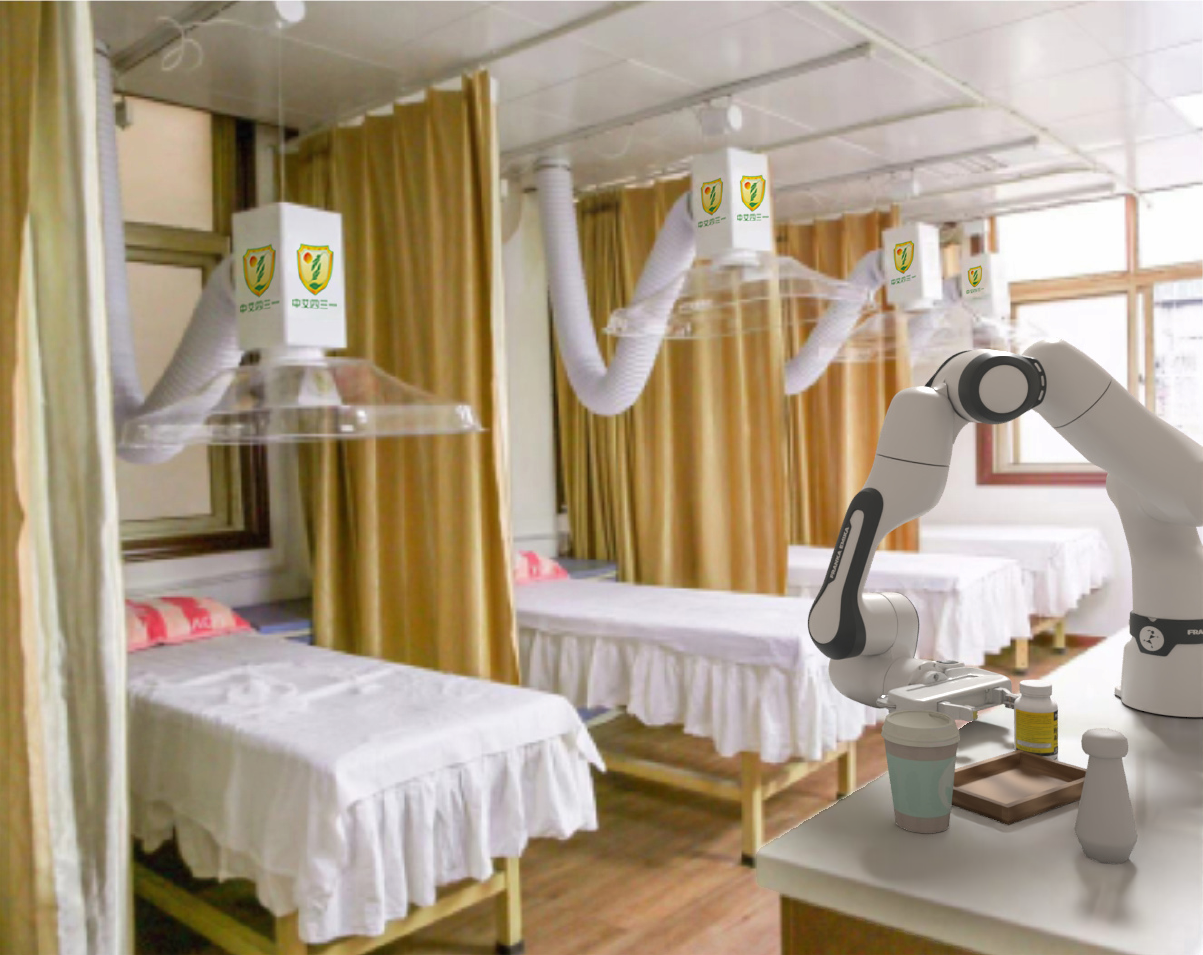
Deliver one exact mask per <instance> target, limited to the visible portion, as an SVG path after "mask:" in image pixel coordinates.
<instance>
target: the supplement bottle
mask: <svg viewBox="0 0 1203 955" xmlns="http://www.w3.org/2000/svg"><path fill="white" fill-rule="evenodd" d="M1019 694H1021V695H1020V697H1018V698H1017V699H1016V700H1015V702H1014V709H1013V719H1014V720H1013V726H1014V728H1013V729H1014V732H1013V734H1014V735H1013V736H1014V738H1013V741H1014V751H1016V750H1021V751H1025V752H1028V753H1032V754H1035V755H1039V756H1042V757H1046V758H1050V759H1053V760H1056V759H1057V758H1058V757H1059V756H1058V755H1059V721H1058V720H1059V717H1058V716H1059V715H1058V714H1059V709H1058V707H1059V706H1058V704H1057V702H1056V700H1054V699H1053V698H1051V696H1052V695H1053V684H1052V683H1051V682H1049V681H1047V680H1041V679H1023V680H1021V681H1019Z"/></svg>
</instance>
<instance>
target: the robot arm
mask: <svg viewBox="0 0 1203 955" xmlns="http://www.w3.org/2000/svg"><path fill="white" fill-rule="evenodd" d="M1030 410H1032V411H1034V412H1035V413H1038V414H1039V416H1041V417H1042V419H1043V420H1044V421H1045V422H1046V423H1047V424H1049V426H1050V427H1051V428H1052V429H1053V430H1055V431H1056V432H1057V433H1058V434H1059V435H1060V436H1061V437H1062V438H1064V440H1065V441H1067V443H1068V444H1070V445H1071V446H1072V447H1073V448H1074V449H1075V450H1076V451H1077V452H1078V453H1079V454H1080V455H1081V456H1083V458H1085V459H1086V460H1087V461H1088V462H1089V463H1091V464H1093V465H1095V466H1097V467H1099V469H1102V470H1104V471H1105V472H1107V475H1106V478H1105V489H1106V493H1107V495H1108V497H1109V500H1110V501H1111V502H1112V504H1113V506H1115V508H1116V509H1117V512H1118V514H1119V517H1120V521H1121V525H1122V529H1123V532H1124V536H1125V539H1126V544H1127V547H1128V548H1127V549H1128V552H1129V557H1130V564H1131V580H1132V581H1131V584H1132V585H1131V587H1132V588H1131V591H1132V610H1131V611H1130V612H1129V619H1128V625H1129V634H1130V636H1131V638H1130V639H1129V641H1127V642H1126V643H1125V644H1124V646H1123V653H1122V666H1121V677H1120V678H1121V680H1120V685H1117V686H1115V687H1114V692H1113V693H1114V695H1116V696H1117V697H1119V698H1121V702H1122V703H1123V704H1124V705H1125V706H1128V707H1130V708H1133V709H1135V710H1138V711H1141V712H1142V711H1144V712H1147V713H1152V714H1156V715H1163V716H1171V717H1172V716H1173V717H1180V718H1181V717H1182V718H1186V717H1187V718H1203V543H1202V540H1201V538H1200V535H1199V532H1198V529H1197V528H1200V527H1201V528H1202V527H1203V446H1202V445H1201V444H1200V443H1198V442H1196V441H1195V440H1194V439H1192V438H1191V437H1189V436H1188V435H1187V434H1185V433H1184V432H1182V431H1181V430H1179V429H1178V428H1176V427H1175V426H1173V425H1172V424H1170V423H1168V422H1167V421H1165V420H1164V419H1162V418H1160V417H1159V416H1158V415H1157V414H1155V413H1153V411H1151V410H1150V409H1149V408H1147V407H1146V406H1145V405H1144V404H1143V403H1142V402H1140V401H1139V399H1137V398H1136V397H1135V396H1134V395H1133V394H1132V393H1130V392H1129V390H1127V388H1125V387H1124V386H1123V385H1122V384H1121V383H1120V382H1119V381H1117V379H1116V378H1114V376H1112V375H1111V374H1110V373H1109V372H1108V371H1107V370H1106V369H1105V368H1104V367H1103V366H1102V365H1100V364H1099V363H1098V362H1096V361H1095V360H1094V359H1093V358H1091V357H1090V356H1088V355H1087V354H1086V353H1084V352H1083V351H1081V350H1080V349H1079V348H1077V347H1076V346H1074V345H1072V343H1071V344H1070V343H1069V342H1068V341H1066V340H1064V339H1061V338H1058V337H1048V338H1044V339H1041V340H1038V341H1037V342H1035V343H1033V344H1031V345H1030V346H1028V348H1026V349H1025V350H1024V351H1023V352H1022V353H1021V354H1020V353H1019V354H1017V353H1014V352H1011V351H1010V352H1009V351H1004V350H995V349H989V348H978V349H973V350H969V349H968V350H964V351H959V352H957V353H955V354H952V355H951V356H949V357H948V358H947V359H946V360H944V362H943V363H942V364H941V365H939V367H938V368H937V370H936V372H934V374H933V375H932V376H931V377H930V379H929V380H928V381H927V382H926V383H925V385H924V386H911V387H906V388H904V389H900V391H898V392H897V393H896V394H895V395H894V396H893V397H892V399H891V402H890V404H889V406H888V409H887V411H886V413H885V417H884V420H883V422H882V426H881V429H880V433H879V436H878V437H879V438H878V439H877V440H878V441H877V445H876V449H875V454H874V455H875V456H874V459H873V462H872V467H871V470H870V472H869V474H868V477H867V479H866V480H865V482H864V485H863V486H862V488H861V489H860V491H859V492H857V493H856V494H855V495H854V497H853V498H852V499H851V501H850V503H849V504H848V507H847V510H846V512H845V515H844V517H843V521H842V524H841V526H840V530H839V533H838V536H837V539H836V541H835V546H834V549H833V553H832V554H831V558H830V561H829V564H828V567H827V571H826V574H825V576H824V580H823V582H822V585H821V587H820V589H819V591H818V593H817V595H816V597H815V599H814V601H813V602H812V605H811V607H810V609H809V612H808V617H807V630H808V634H809V637H810V639H811V641H812V642H813V644H814V645H815V647H816V648H817V649H818V650H819V651H820V653H822V654H823V655H824V656H825V657H827V658H829V662H828V677H829V680H830V681H831V684H832V686H833V687H834V688H835V689H836V690H837V691H838V692H839V693H840V694H841V695H842V696H844V697H845V698H848V699H849V700H851V701H853V702H857V703H859V704H861V705H863V706H864V705H865V706H868V707H871V708H874V709H880V710H881V709H886V710H888V714H890V713H893V712H896V711H902V710H928V711H935V712H940V713H944V714H947V715H949V716H951V717H953V718H954V719H955V721H956V720H958V721H964V722H968V723H970V722H973V721H977V719H978V718H979V715H978V713H979V712H978V711H983V710H986V709H990V708H995V707H997V706H998V707H999V706H1002V705H1004V707H1005V709H1011V710H1014V702H1015V700H1016V699H1017V698H1018V697H1020V696H1021V695H1020V694H1017V693H1016V694H1015V693H1013V688H1012V686H1013V684H1012V680H1011V679H1010V678H1009V677H1008V676H1005V675H1004V674H1002V673H1001V674H1000V673H998V672H994V671H989V670H987V669H983V668H979V667H973V666H965V662H964V661H961V660H956V659H955V660H954V659H952V660H951V659H950V660H947V659H946V660H930V659H925V658H922V659H921V658H916V657H915V655H916V651H917V647H918V642H919V635H920V634H919V633H920V618H919V617H920V616H919V613H918V611H917V609H916V607H915V605H914V604H913V602H912V600H910V599H909V598H908V597H907V596H905V594H903V593H900V592H897V591H870V592H864V589H865V586H866V584H867V583H866V582H867V580H868V578H869V574H870V570H871V567H872V564H873V561H874V558H875V554H876V553H877V552H876V551H877V548H878V547H879V545H880V543H881V542H882V541H883V540H884V538H885V537H886V536H887V535H888V534H889V533H891V532H893V531H894V530H895V529H897V528H899V527H901V526H902V525H904V524H906V523H909V522H911V521H914V520H917V519H918V518H921V517H923V516H924V515H926V514H928V513H929V512H930V511H931V510H933V509H934V508H935V507H936V506H938V504H939V503H940V500H941V498H942V497H943V494H944V492H945V489H946V486H947V481H948V476H949V472H950V466H951V460H952V454H953V446H954V445H955V442H956V439H957V437H958V436H959V434H960V432H961V431H962V429H964V427H965V426H966V425H968V424H969V423H977V424H979V423H980V424H985V425H1003V424H1005V423H1009V422H1011V421H1013V420H1016V419H1018V418H1019V417H1021V416H1022V415H1024V414H1025V413H1027V412H1029V411H1030Z"/></svg>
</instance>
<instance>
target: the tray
mask: <svg viewBox="0 0 1203 955" xmlns="http://www.w3.org/2000/svg"><path fill="white" fill-rule="evenodd" d="M1086 770H1087V768H1084V767H1081V766H1077V765H1073V764H1070V763H1066V762H1062V761H1060V760H1056V759H1050V758H1046V757H1042V756H1039V755H1035V754H1032V753H1028V752H1025V751H1021V750H1016V751H1015V750H1014V751H1010V752H1007V753H1003V754H1000V755H996V756H993V757H990V758H987V759H983V760H980V761H976V762H973V763H971V764H967V765H964V766H963V765H962V766H961V767H957V768H955V773H954V784H953V794H952V804H951V806H953V807H956V808H958V809H962V810H965V811H967V812H969V813H973V814H976V815H978V816H981V817H984V818H987V819H990V820H992V821H995V822H998V823H1001V824H1003V825H1006V826H1010V825H1012V824H1015V823H1018V822H1021V821H1024V820H1026V819H1029V818H1030V819H1031V818H1032V817H1036V816H1037V815H1040V814H1043V813H1046V812H1050V811H1053V810H1054V809H1058V808H1060V807H1063V806H1066V805H1068V804H1072V803H1074V802H1078V801H1080V799H1081V794H1082V789H1083V784H1084V780H1085V775H1086Z"/></svg>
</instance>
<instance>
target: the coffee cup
mask: <svg viewBox="0 0 1203 955" xmlns="http://www.w3.org/2000/svg"><path fill="white" fill-rule="evenodd" d="M881 730H882V731H881V732H880V734H881V737H882V738H883V741H884V747H885V748H884V749H885V756H886V762H887V764H886V765H887V769H888V770H887V771H888V777H889V784H890V791H891V799H892V807H893V815H894V819H895V820H894V821H895V824H896V823H897V824H896V825H897V826H898V827H899V828H901V827H902V828H901V829H903V828H905V829H907V830H906V831H908V830H909V832H912V831H913V832H914V833H919V834H936V832H937V833H940V832H943V831H946V830H947V829H949V828H950V822H951V813H952V805H951V804H952V794H953V784H954V773H955V769H956V761H957V753H958V751H957V750H958V743H959V741H960V740H961V735H960V730H959V728H958V726H957V723H956V720H955V719H954V718H953V717H951V716H949V715H947V714H944V713H940V712H935V711H928V710H902V711H896V712H893V713H890V714H889V713H888V714H887V715H886V716H885V720H884V723H883V725H882V726H881ZM905 829H904V830H905ZM913 832H912V833H913Z"/></svg>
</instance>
